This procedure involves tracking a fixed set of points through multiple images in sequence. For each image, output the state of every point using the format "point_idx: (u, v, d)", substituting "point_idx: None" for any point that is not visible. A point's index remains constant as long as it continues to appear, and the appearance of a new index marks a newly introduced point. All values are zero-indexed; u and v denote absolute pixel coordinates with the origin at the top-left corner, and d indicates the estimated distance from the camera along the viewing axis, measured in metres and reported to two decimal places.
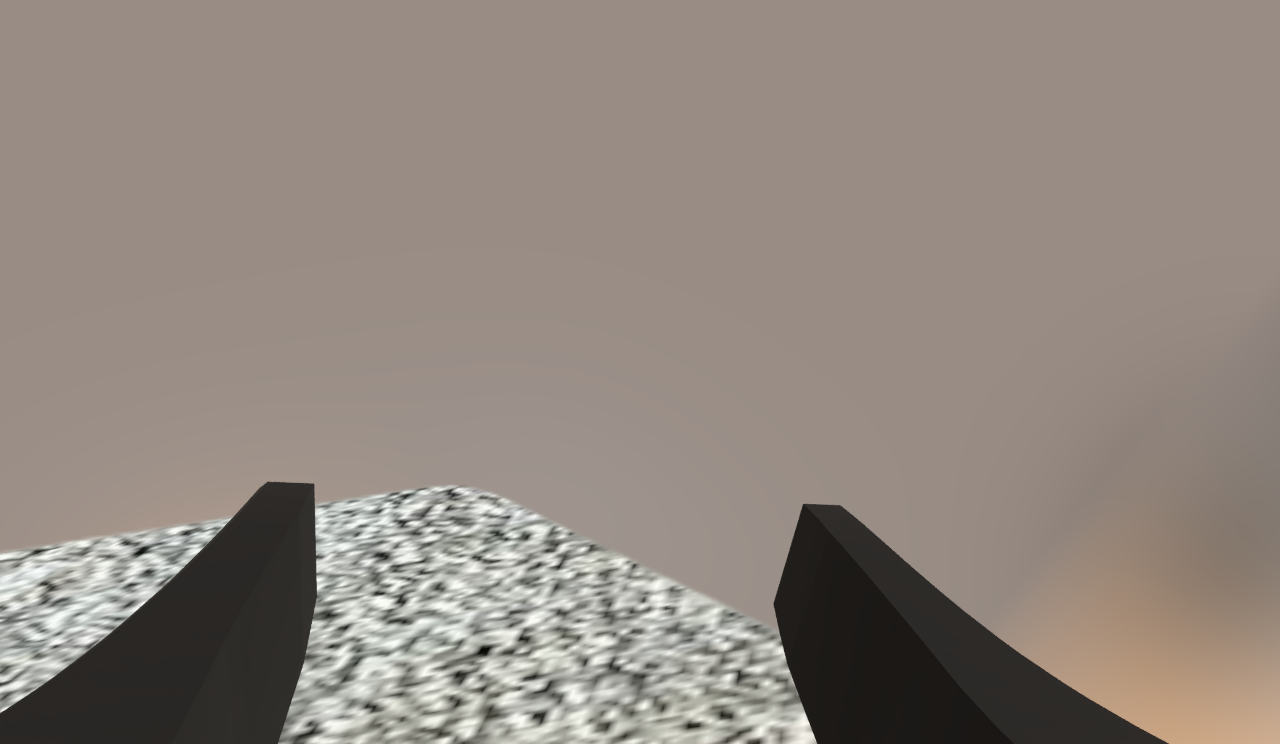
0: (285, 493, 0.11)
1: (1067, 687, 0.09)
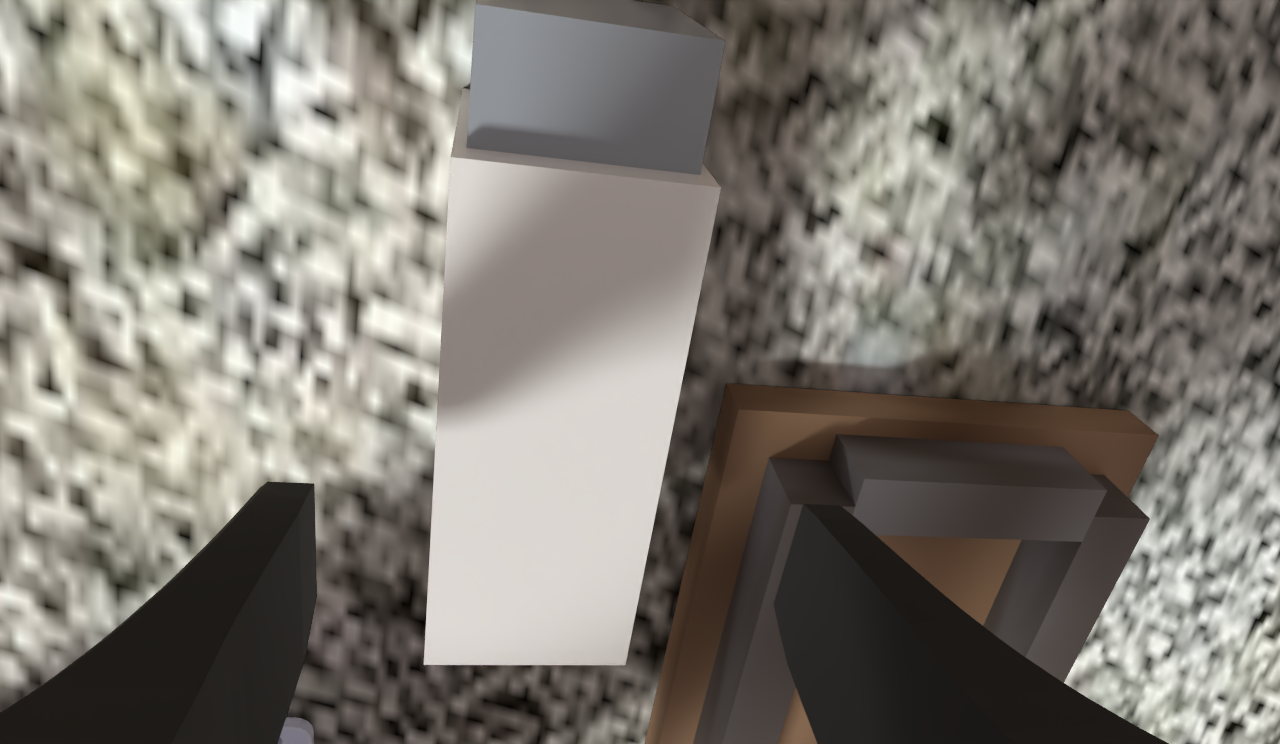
0: (285, 493, 0.11)
1: (1067, 687, 0.09)
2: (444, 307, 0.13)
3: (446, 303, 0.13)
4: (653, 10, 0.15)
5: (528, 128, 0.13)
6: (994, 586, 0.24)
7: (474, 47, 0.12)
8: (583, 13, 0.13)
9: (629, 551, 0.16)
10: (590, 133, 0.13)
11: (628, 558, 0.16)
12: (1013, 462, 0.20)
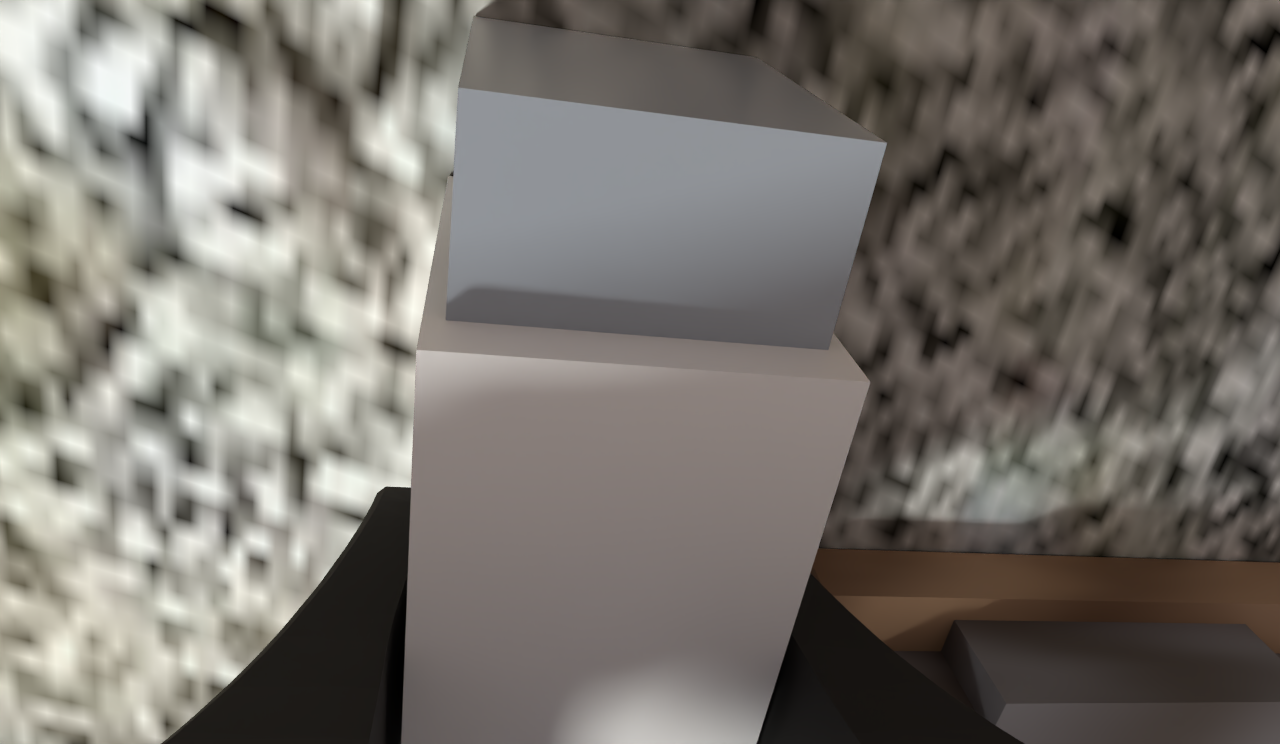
0: (406, 497, 0.12)
1: (937, 687, 0.09)
2: (410, 570, 0.08)
3: (413, 566, 0.08)
4: (737, 70, 0.10)
5: (550, 287, 0.08)
6: None
7: (457, 160, 0.07)
8: (642, 91, 0.08)
9: None
10: (653, 294, 0.08)
11: None
12: (1191, 657, 0.15)
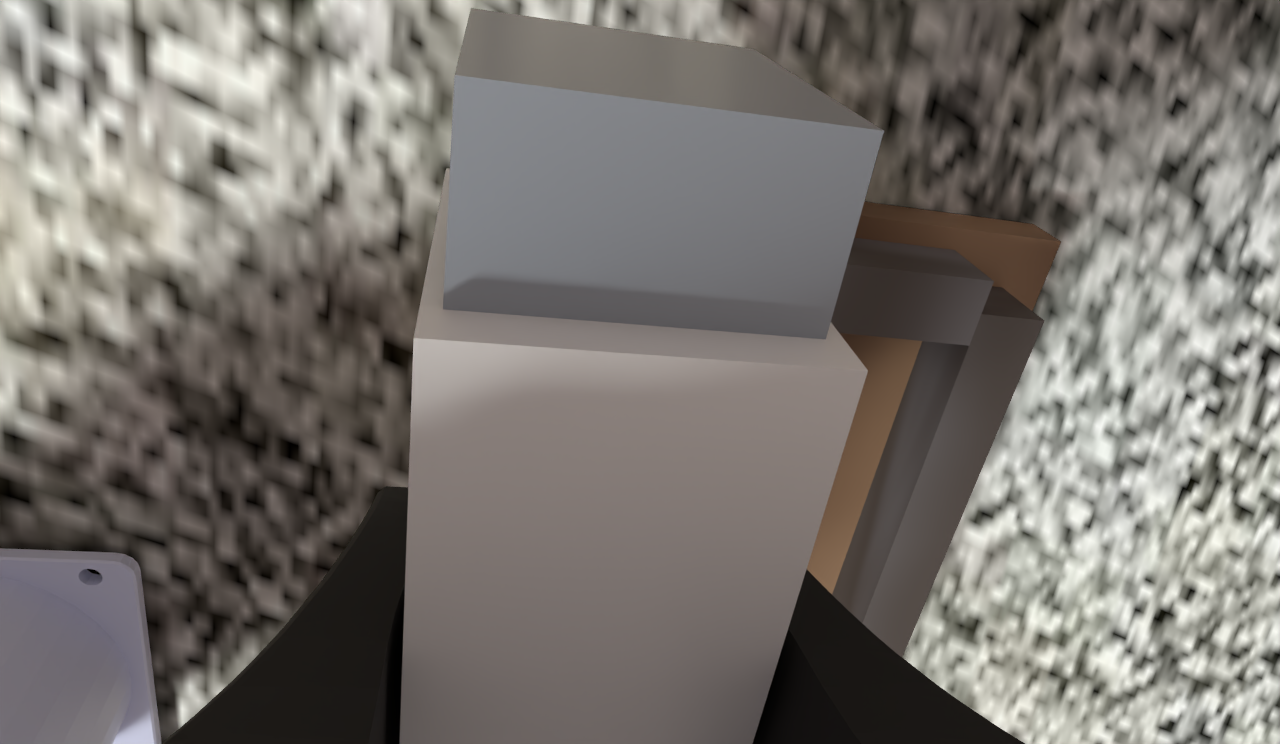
0: (407, 497, 0.12)
1: (937, 687, 0.09)
2: (408, 560, 0.08)
3: (411, 555, 0.08)
4: (734, 61, 0.10)
5: (547, 276, 0.08)
6: (886, 420, 0.22)
7: (454, 148, 0.07)
8: (638, 80, 0.08)
9: None
10: (650, 283, 0.08)
11: None
12: (893, 254, 0.18)
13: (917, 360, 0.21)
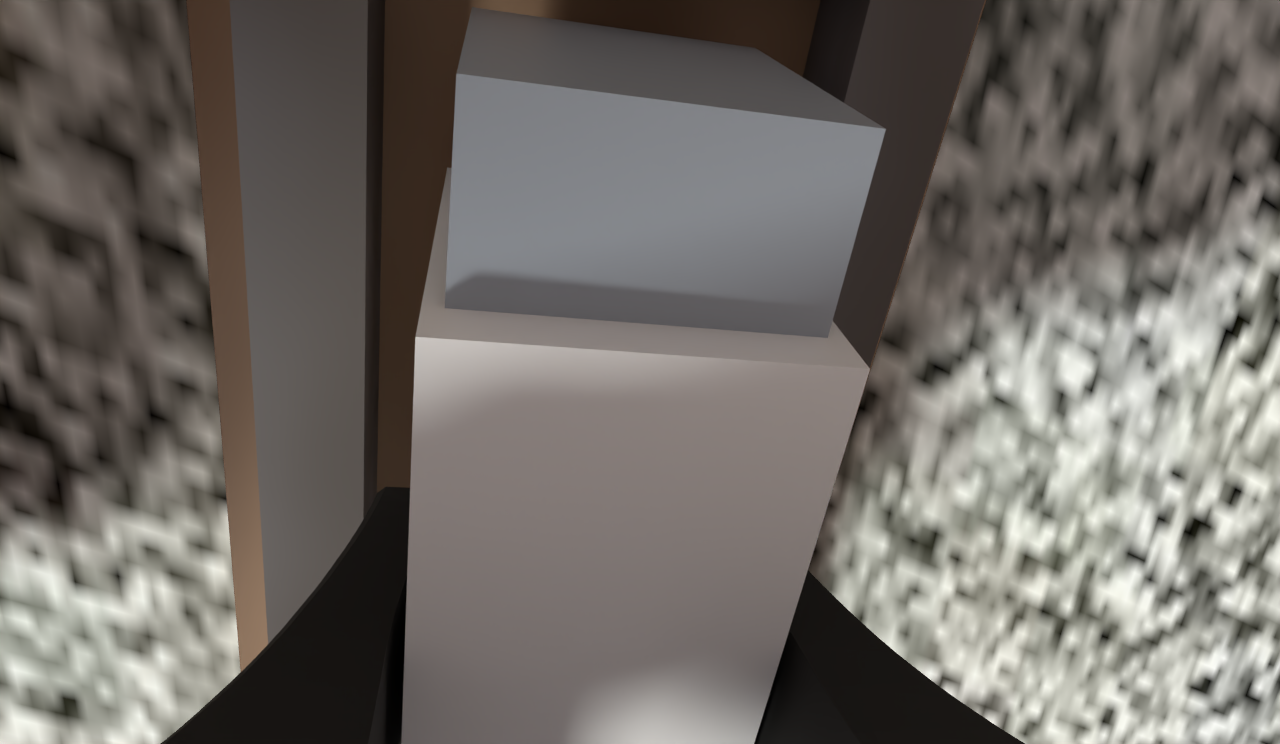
0: (406, 497, 0.12)
1: (937, 687, 0.09)
2: (410, 559, 0.08)
3: (413, 554, 0.08)
4: (735, 59, 0.10)
5: (549, 275, 0.08)
6: None
7: (455, 146, 0.07)
8: (640, 79, 0.08)
9: None
10: (652, 281, 0.08)
11: None
12: None
13: (805, 71, 0.13)
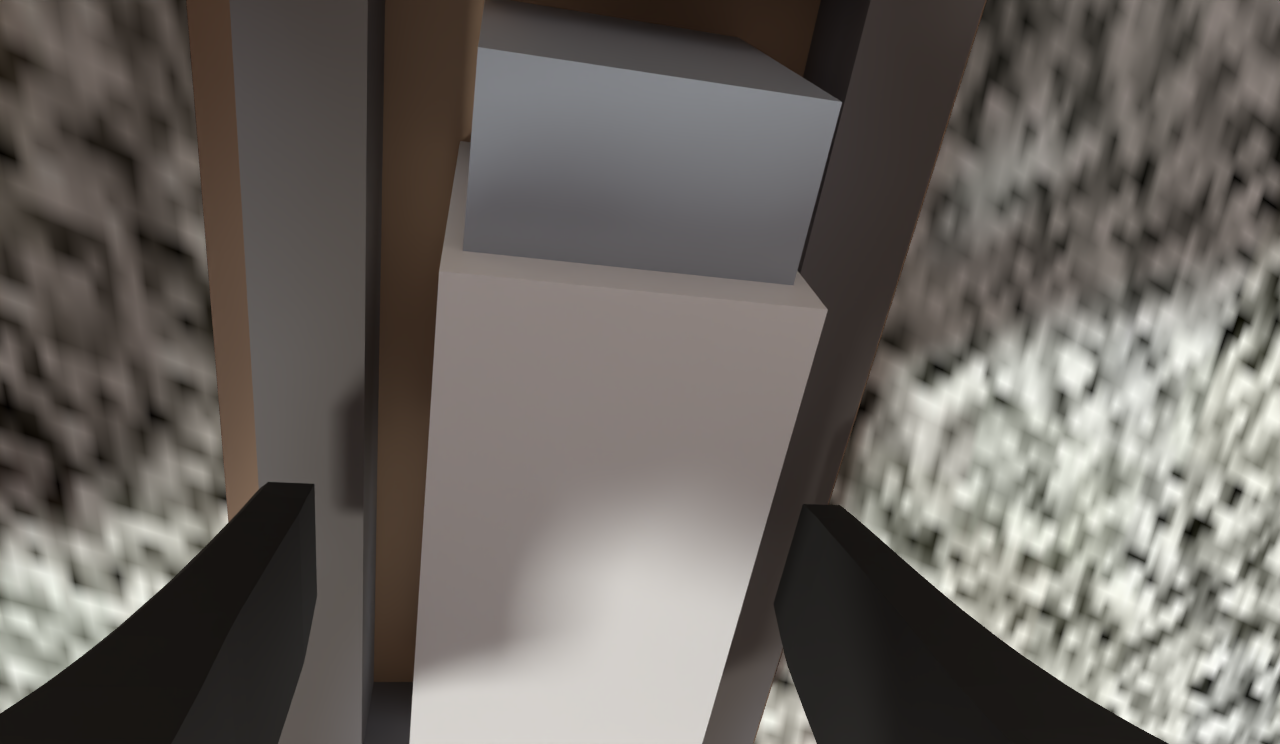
0: (286, 493, 0.11)
1: (1067, 687, 0.09)
2: (429, 471, 0.09)
3: (431, 467, 0.09)
4: (719, 46, 0.11)
5: (553, 223, 0.09)
6: None
7: (476, 109, 0.08)
8: (633, 57, 0.09)
9: None
10: (641, 231, 0.09)
11: None
12: None
13: (806, 71, 0.13)
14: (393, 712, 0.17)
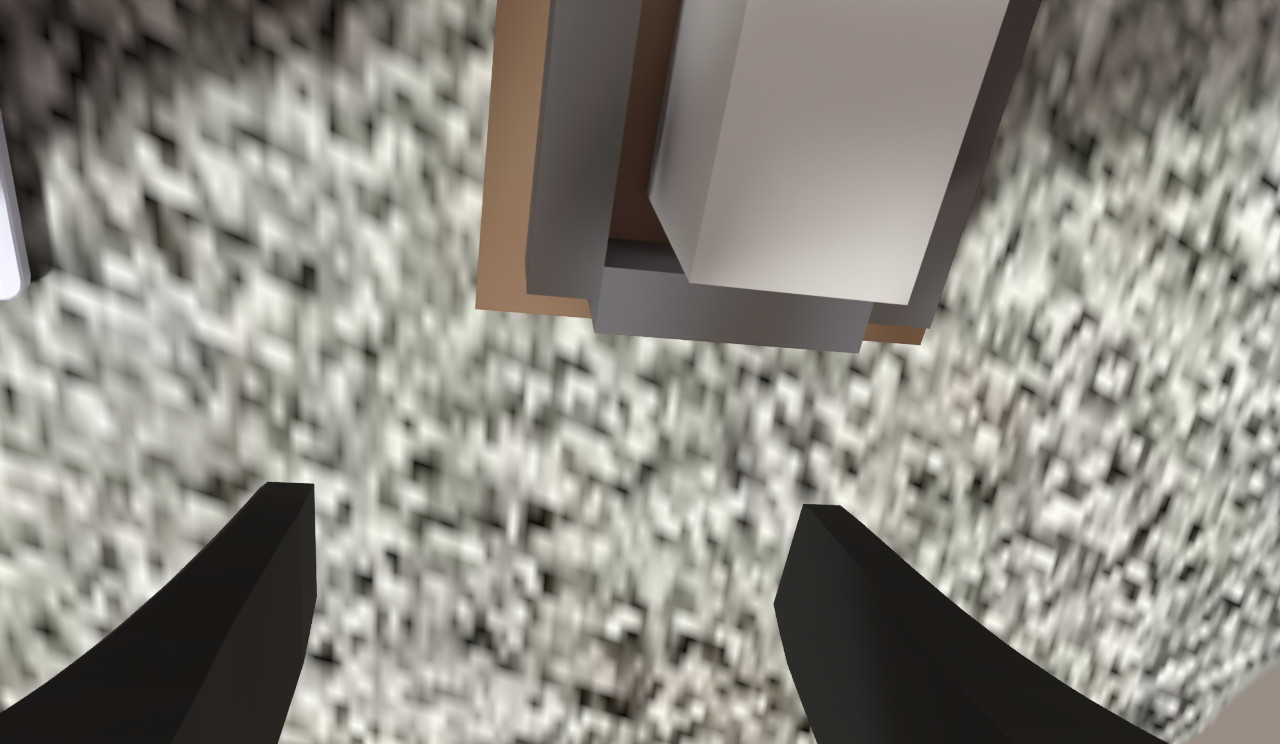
0: (285, 493, 0.11)
1: (1067, 687, 0.09)
2: None
3: None
4: None
5: None
6: None
7: None
8: None
9: (943, 136, 0.14)
10: None
11: (939, 146, 0.14)
12: None
13: None
14: (620, 250, 0.19)
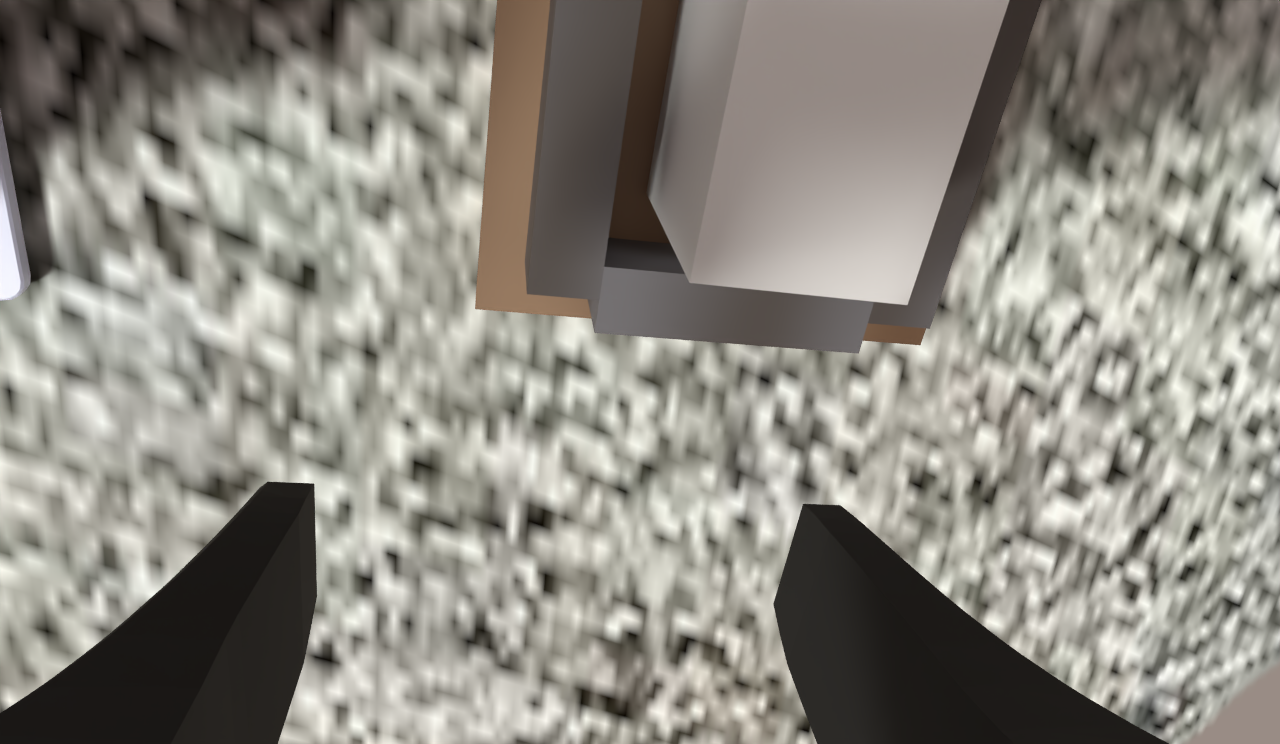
0: (285, 493, 0.11)
1: (1067, 687, 0.09)
2: None
3: None
4: None
5: None
6: None
7: None
8: None
9: (943, 136, 0.14)
10: None
11: (939, 146, 0.14)
12: None
13: None
14: (620, 250, 0.19)
